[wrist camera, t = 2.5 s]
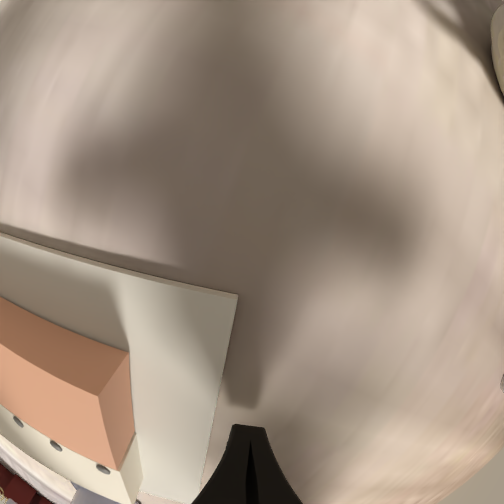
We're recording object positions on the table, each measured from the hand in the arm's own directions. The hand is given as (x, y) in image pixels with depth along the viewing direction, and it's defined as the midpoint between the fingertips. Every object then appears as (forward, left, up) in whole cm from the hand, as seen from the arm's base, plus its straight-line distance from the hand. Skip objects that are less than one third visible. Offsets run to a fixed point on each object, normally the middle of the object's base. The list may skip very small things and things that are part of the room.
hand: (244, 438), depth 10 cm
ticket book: (-6, +12, -2) cm, 14 cm away
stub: (0, +12, -2) cm, 13 cm away
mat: (-3, +13, -2) cm, 14 cm away
